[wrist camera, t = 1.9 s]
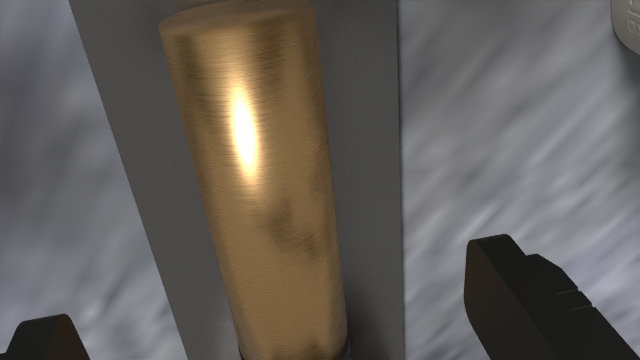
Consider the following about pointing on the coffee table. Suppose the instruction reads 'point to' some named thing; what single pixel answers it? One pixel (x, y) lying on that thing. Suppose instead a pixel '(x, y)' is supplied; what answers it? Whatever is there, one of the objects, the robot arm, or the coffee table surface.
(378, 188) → the dark grey holder
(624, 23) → the dixie cup
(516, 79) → the coffee table surface
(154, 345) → the coffee table surface
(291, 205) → the tube
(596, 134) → the coffee table surface
